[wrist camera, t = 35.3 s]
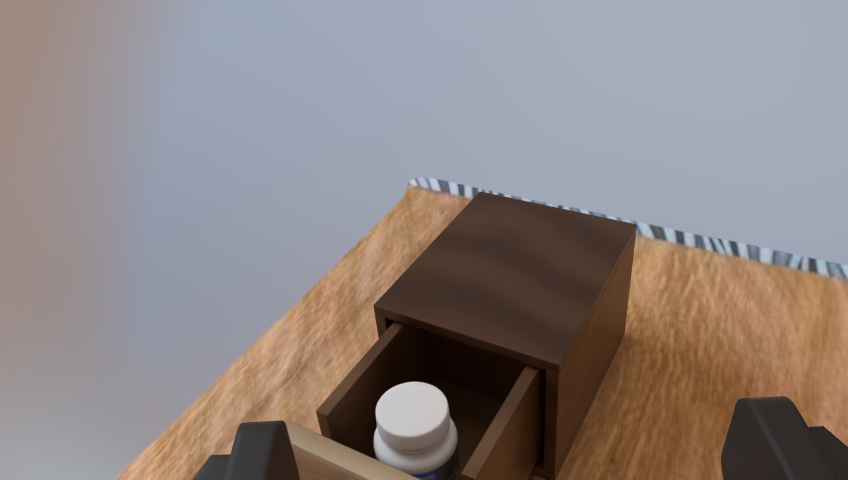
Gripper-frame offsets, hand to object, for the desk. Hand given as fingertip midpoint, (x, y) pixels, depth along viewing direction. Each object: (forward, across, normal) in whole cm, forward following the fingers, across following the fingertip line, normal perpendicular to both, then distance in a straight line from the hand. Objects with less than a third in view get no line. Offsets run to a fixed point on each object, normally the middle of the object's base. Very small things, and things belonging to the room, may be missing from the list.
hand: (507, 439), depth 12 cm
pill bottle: (+17, +3, +27) cm, 32 cm away
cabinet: (+29, -4, +28) cm, 41 cm away
